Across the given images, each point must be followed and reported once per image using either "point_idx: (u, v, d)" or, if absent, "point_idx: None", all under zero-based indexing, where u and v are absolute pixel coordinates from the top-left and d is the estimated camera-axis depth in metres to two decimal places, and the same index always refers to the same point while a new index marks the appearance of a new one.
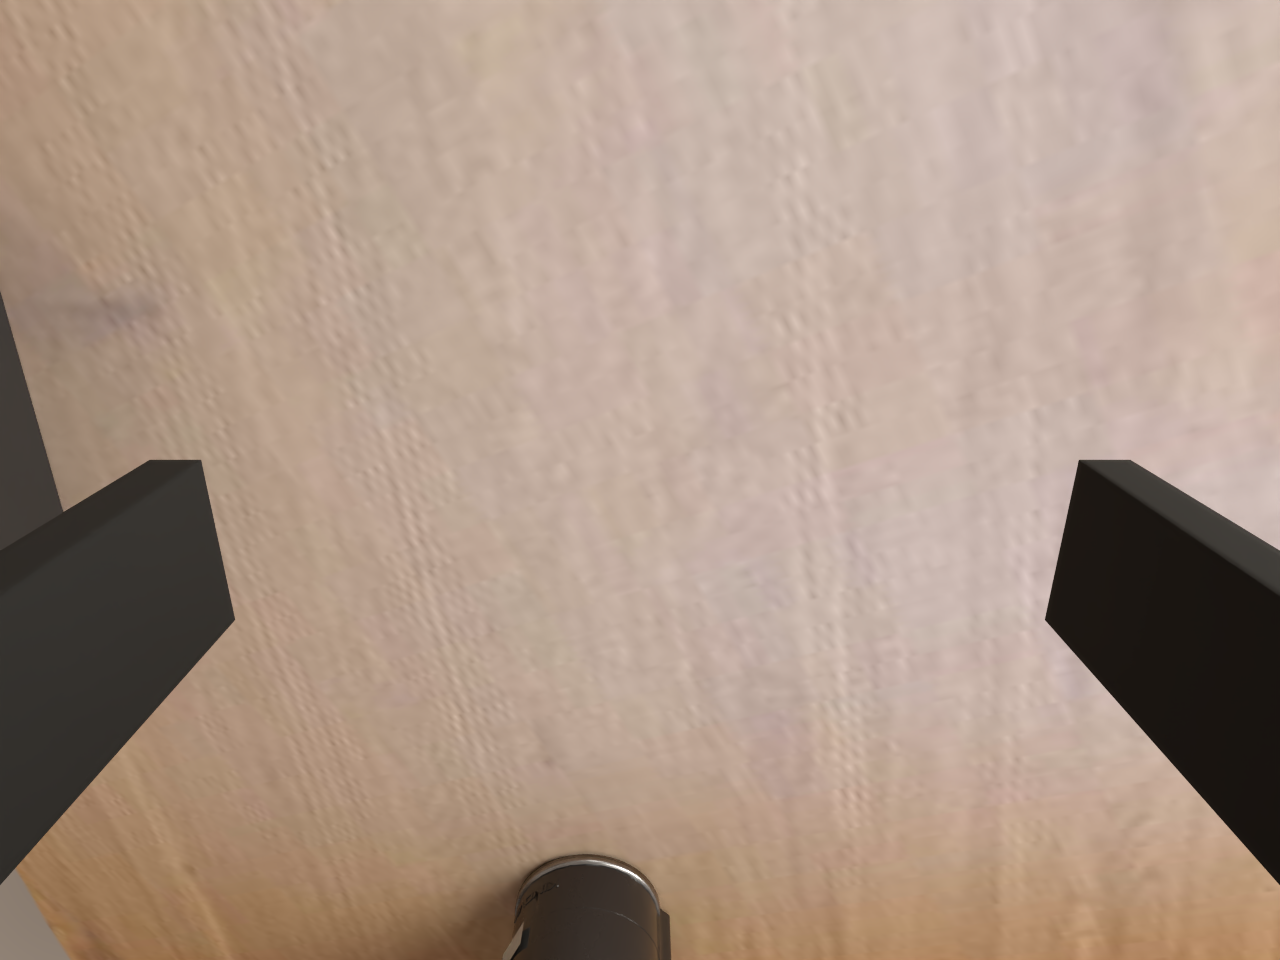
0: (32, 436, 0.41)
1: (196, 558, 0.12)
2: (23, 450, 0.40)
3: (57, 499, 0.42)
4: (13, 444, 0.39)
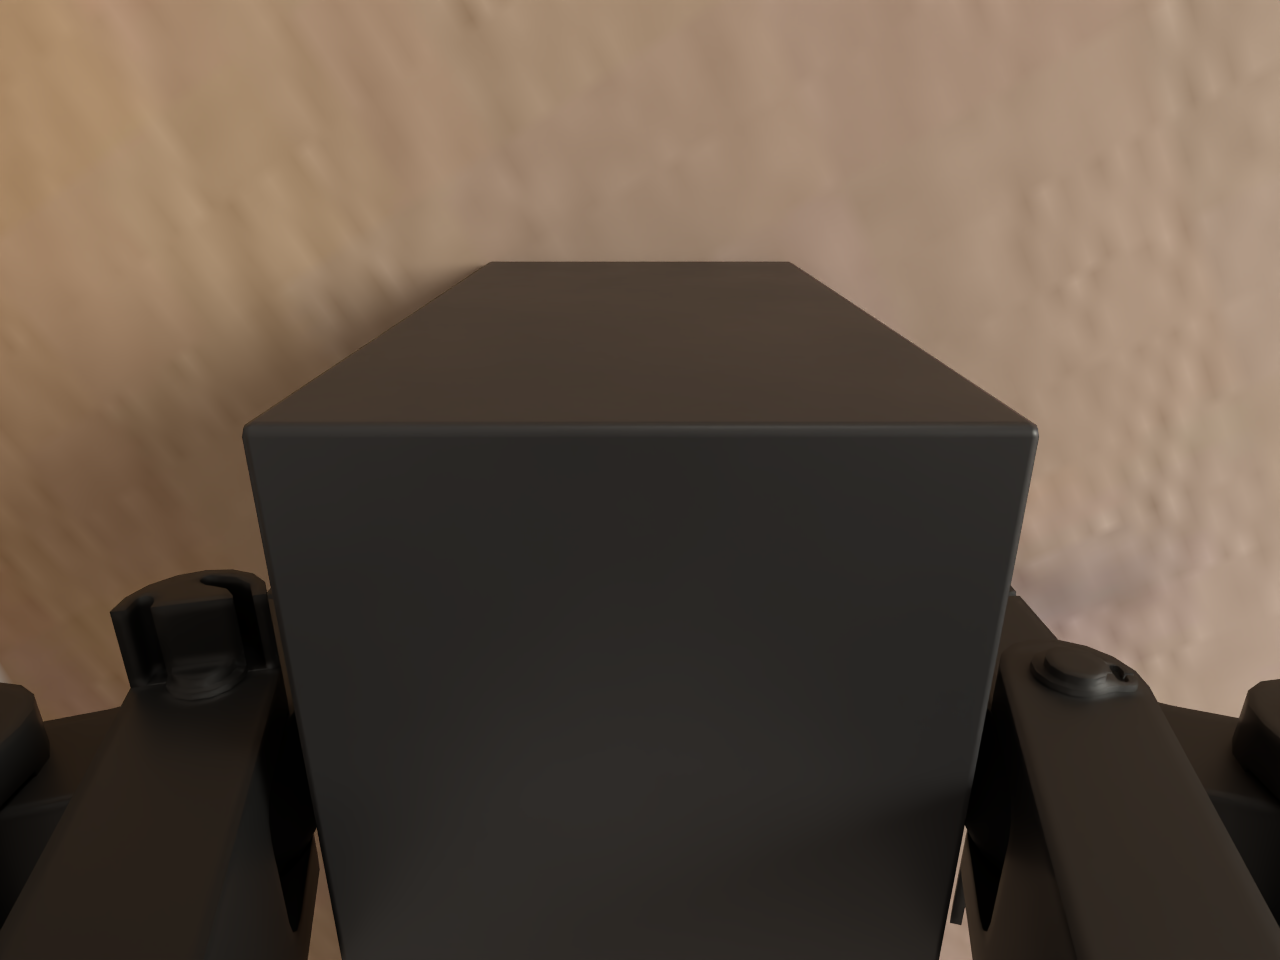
0: None
1: None
2: None
3: None
4: None
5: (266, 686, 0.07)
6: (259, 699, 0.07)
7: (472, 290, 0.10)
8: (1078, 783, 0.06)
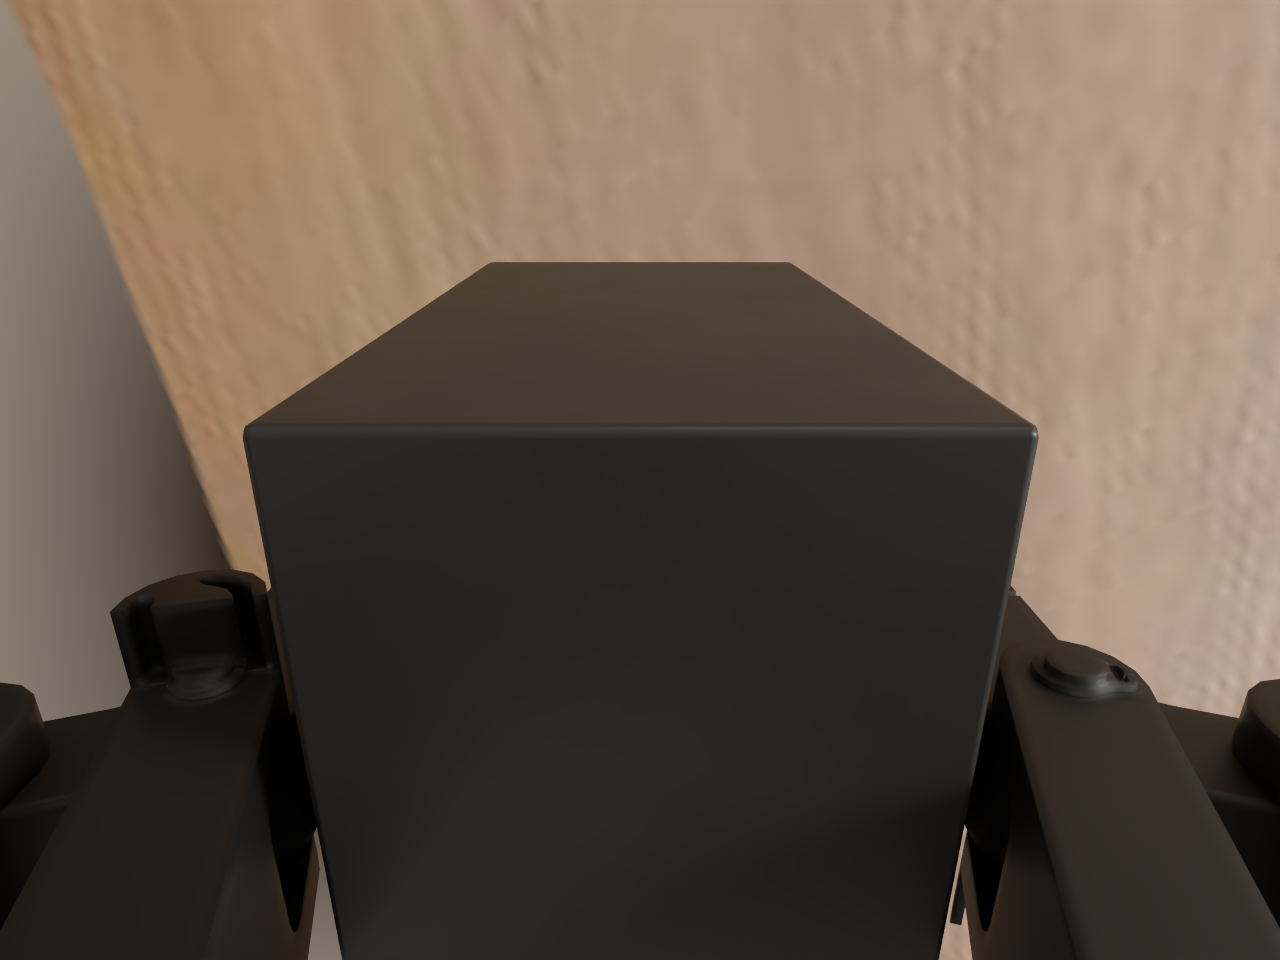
0: None
1: None
2: None
3: None
4: None
5: (266, 686, 0.07)
6: (259, 699, 0.07)
7: (472, 291, 0.10)
8: (1078, 783, 0.06)
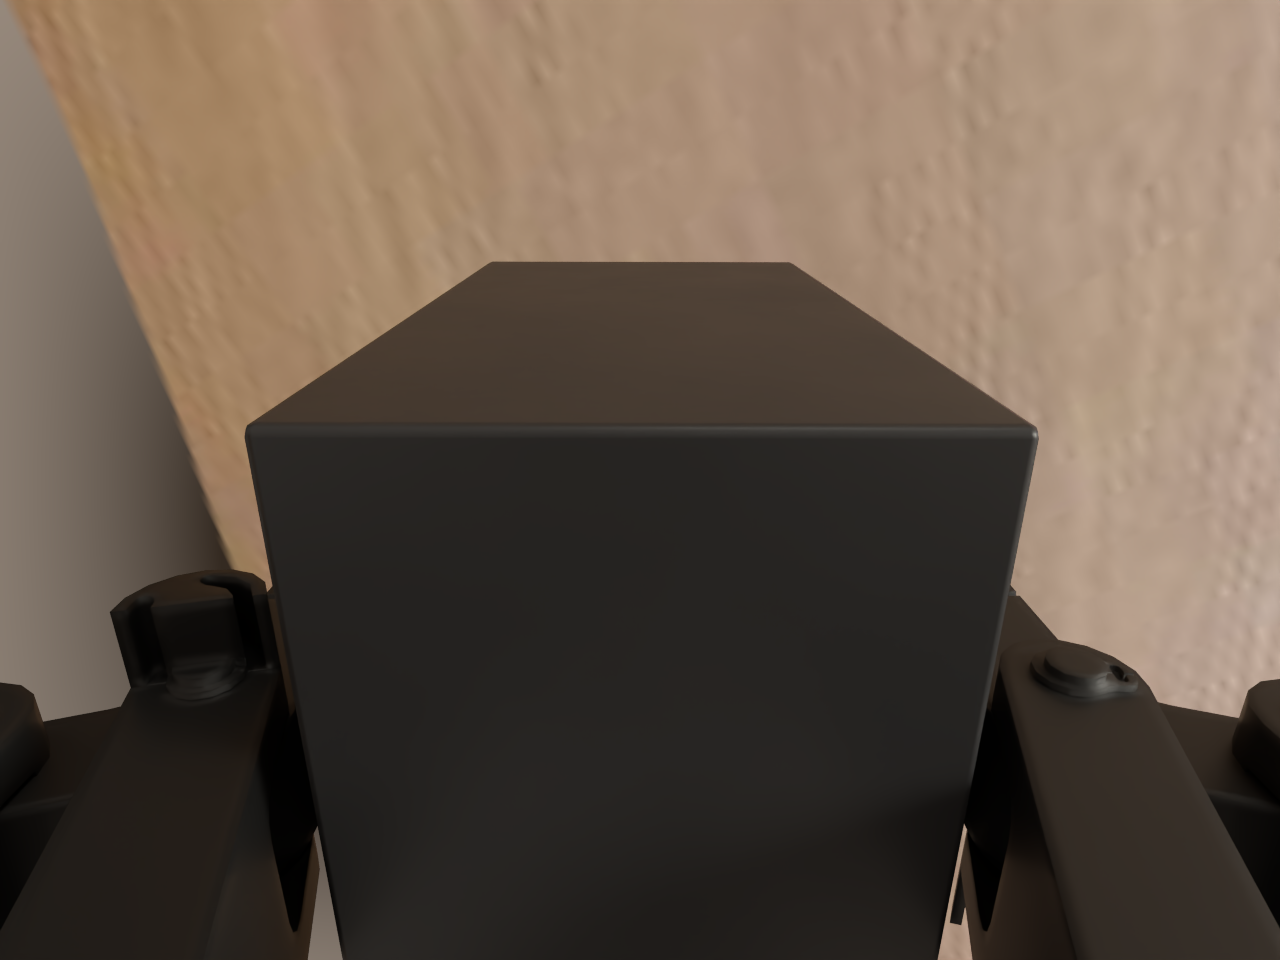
0: None
1: None
2: None
3: None
4: None
5: (266, 685, 0.07)
6: (259, 698, 0.07)
7: (473, 290, 0.10)
8: (1078, 783, 0.06)
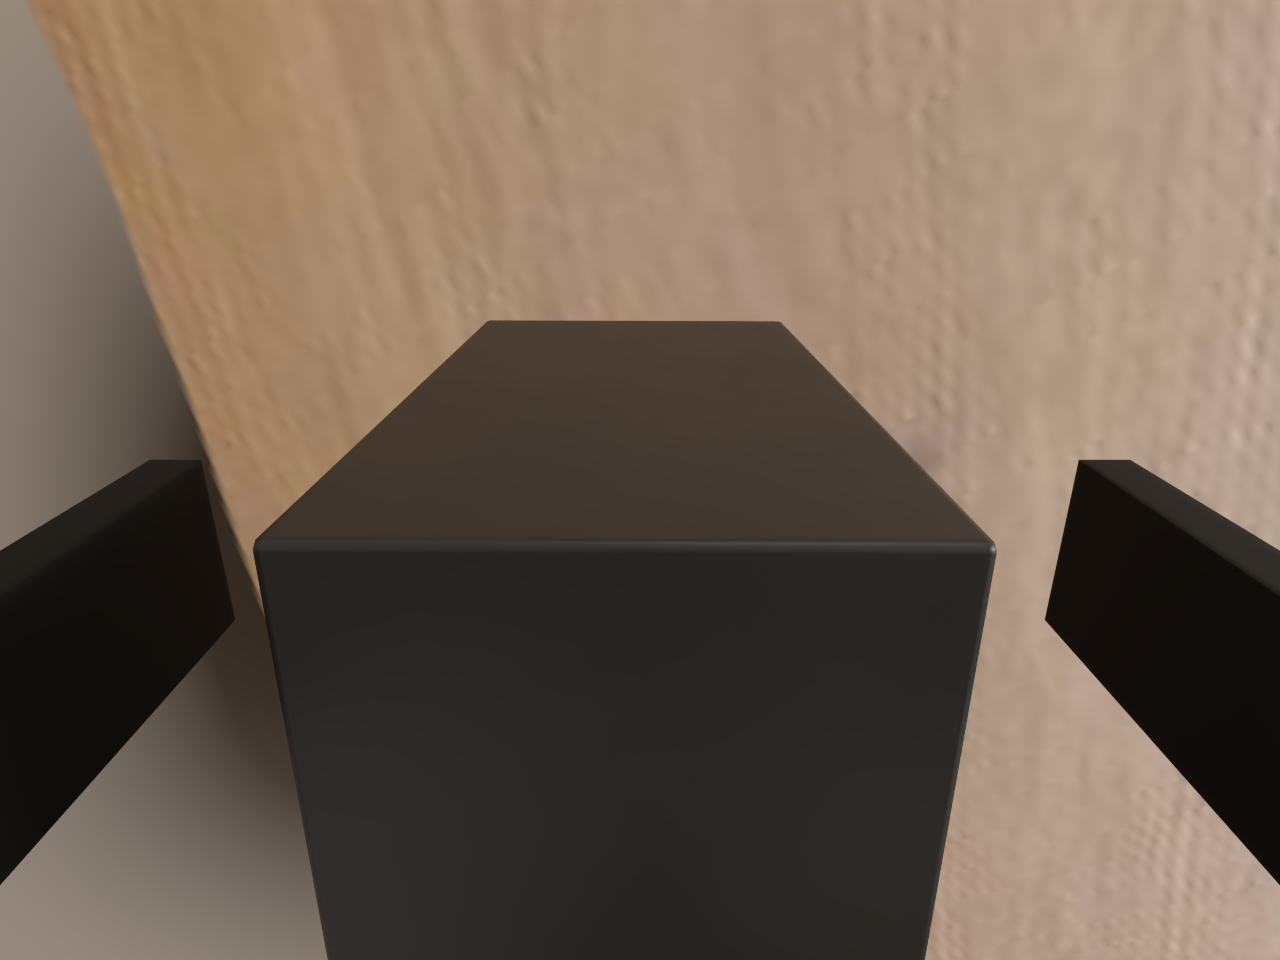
0: None
1: (196, 558, 0.12)
2: None
3: None
4: None
5: None
6: None
7: (470, 360, 0.11)
8: None
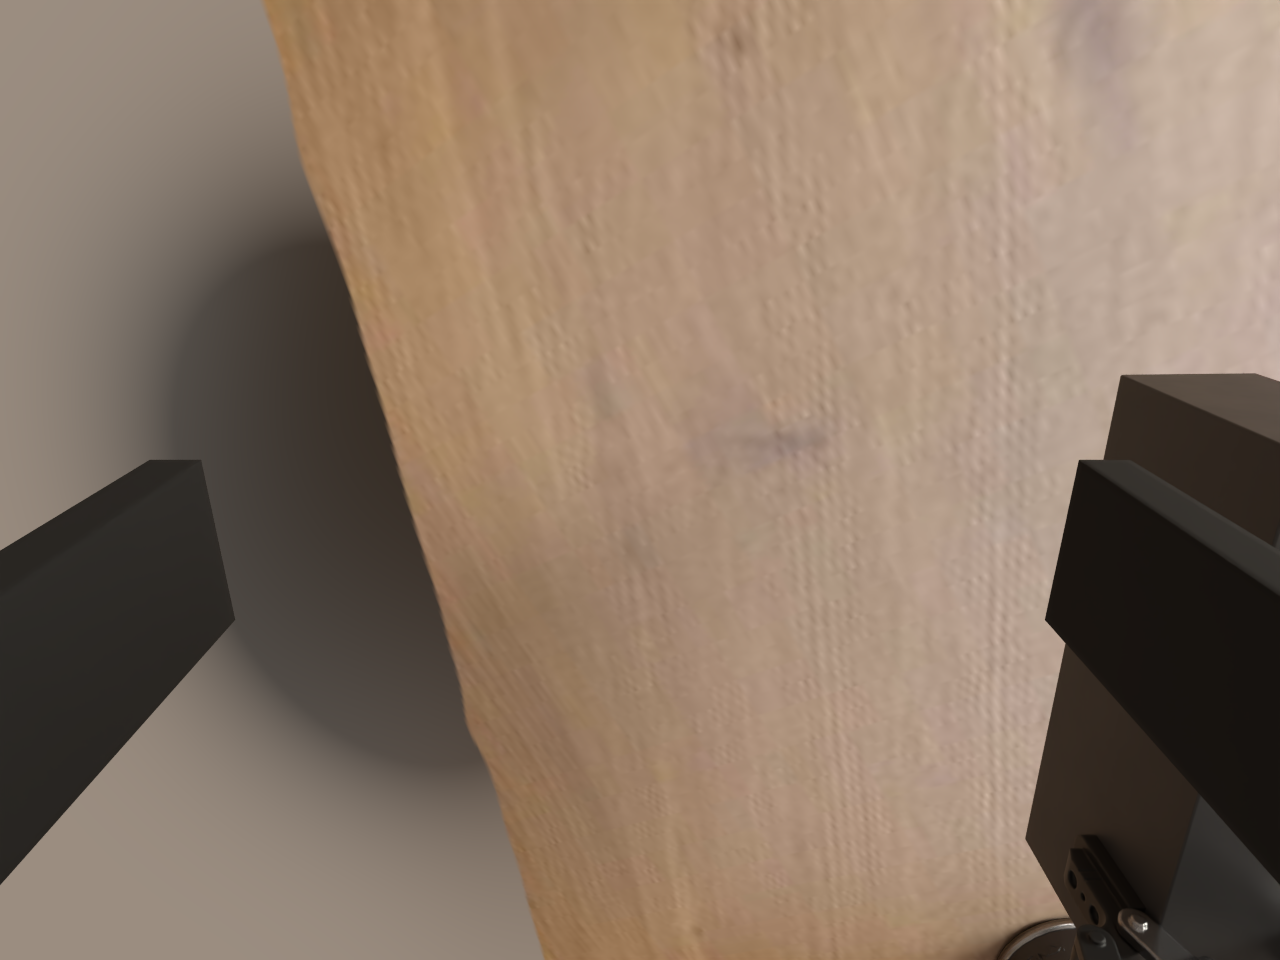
0: None
1: (196, 558, 0.12)
2: None
3: None
4: None
5: None
6: None
7: (1185, 397, 0.27)
8: None
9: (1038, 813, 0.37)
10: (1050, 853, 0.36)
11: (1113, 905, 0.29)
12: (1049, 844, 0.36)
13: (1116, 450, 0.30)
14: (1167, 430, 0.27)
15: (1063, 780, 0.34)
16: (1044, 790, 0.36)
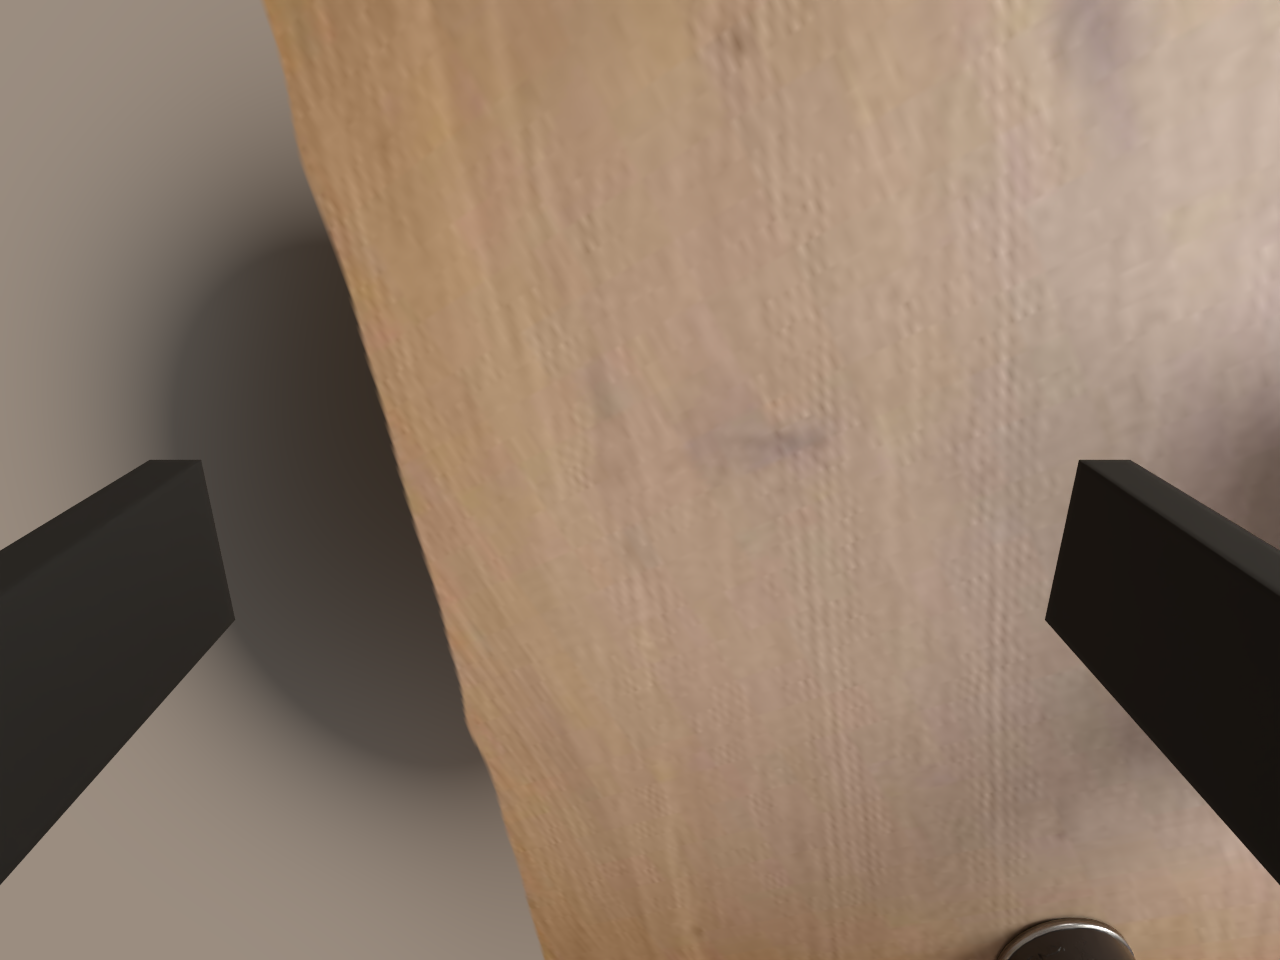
0: None
1: (196, 558, 0.12)
2: None
3: None
4: None
5: None
6: None
7: None
8: None
9: None
10: None
11: None
12: None
13: None
14: None
15: None
16: None
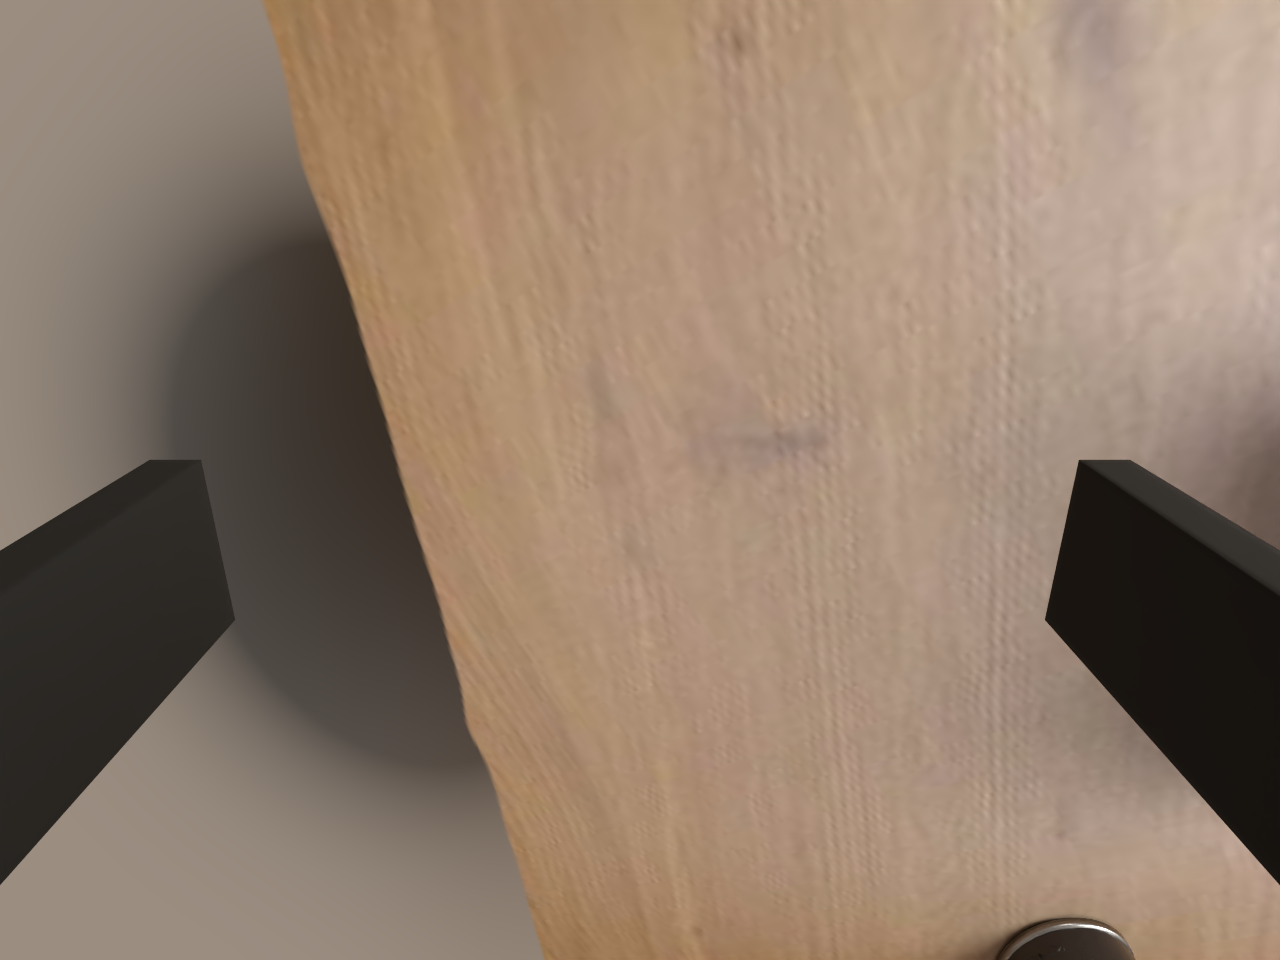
0: None
1: (196, 558, 0.12)
2: None
3: None
4: None
5: None
6: None
7: None
8: None
9: None
10: None
11: None
12: None
13: None
14: None
15: None
16: None
